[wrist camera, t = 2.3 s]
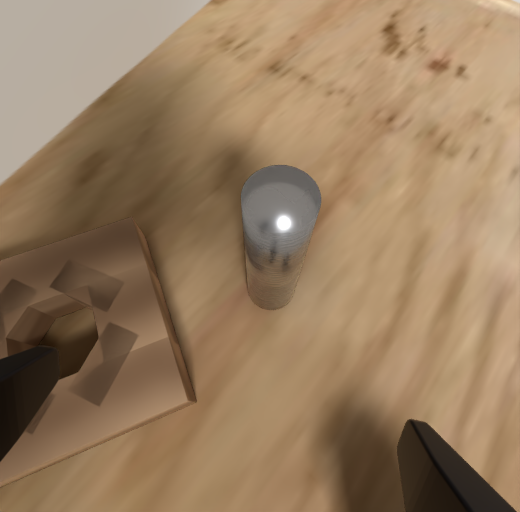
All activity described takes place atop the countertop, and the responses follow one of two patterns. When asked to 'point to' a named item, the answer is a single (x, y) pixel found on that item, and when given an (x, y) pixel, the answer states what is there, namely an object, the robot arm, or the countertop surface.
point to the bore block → (104, 351)
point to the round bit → (277, 231)
